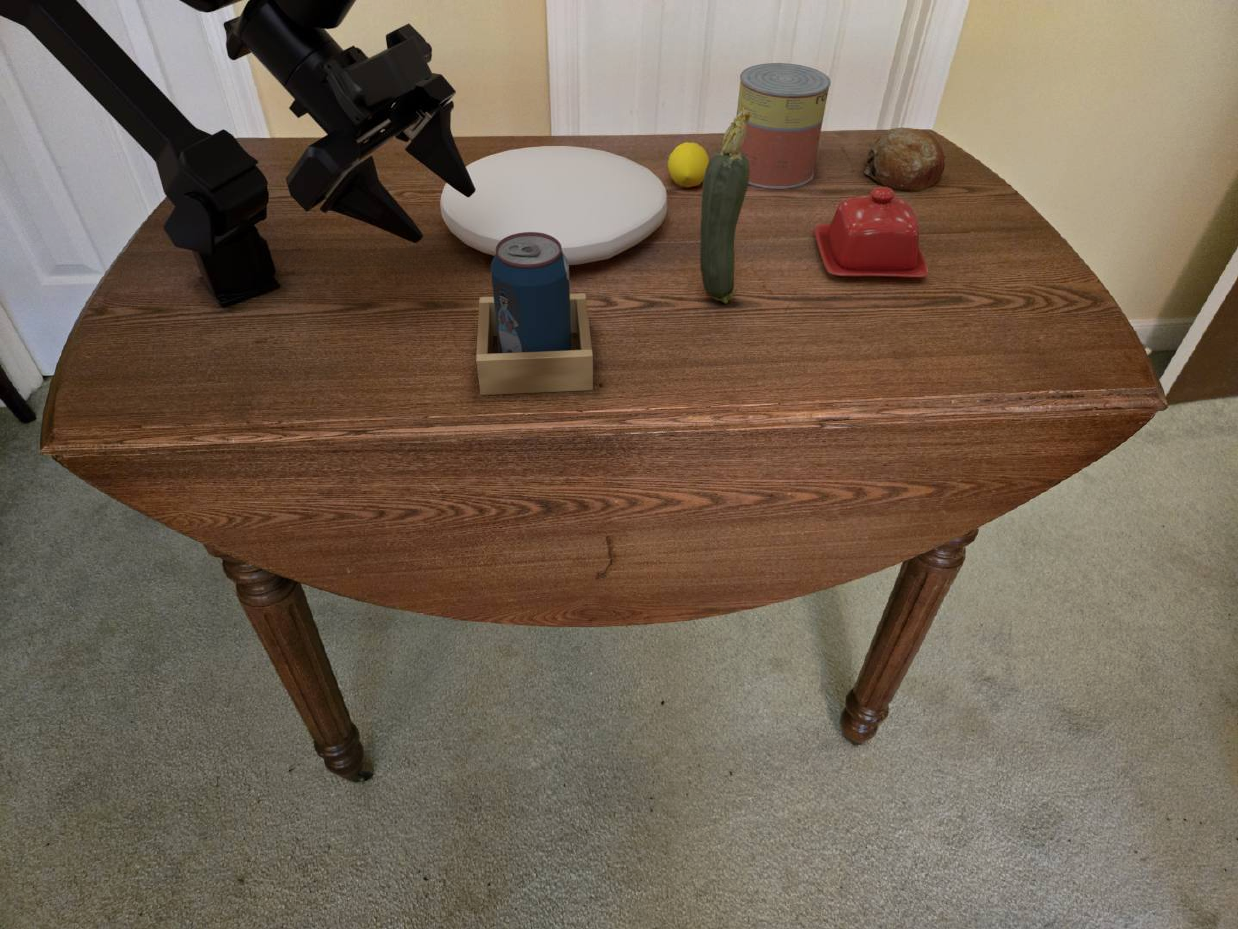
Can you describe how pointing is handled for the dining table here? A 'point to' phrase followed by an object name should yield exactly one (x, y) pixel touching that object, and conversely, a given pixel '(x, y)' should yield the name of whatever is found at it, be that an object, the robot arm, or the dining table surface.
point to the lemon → (688, 164)
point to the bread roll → (905, 159)
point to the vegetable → (723, 210)
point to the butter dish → (872, 238)
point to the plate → (558, 201)
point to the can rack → (534, 358)
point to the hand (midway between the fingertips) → (447, 216)
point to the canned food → (782, 122)
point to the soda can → (531, 294)
